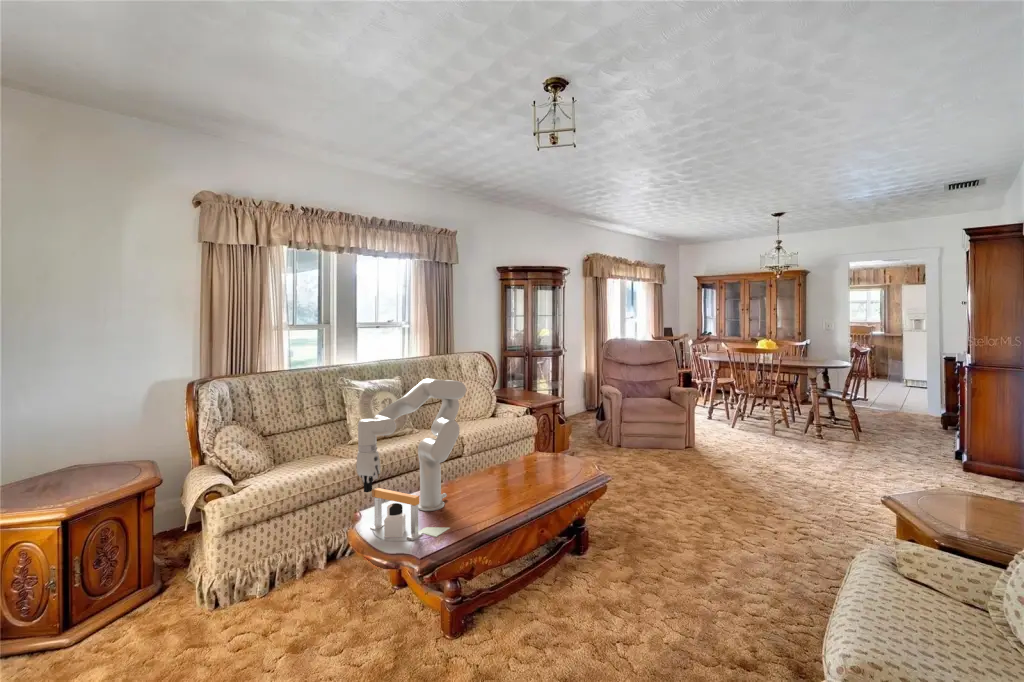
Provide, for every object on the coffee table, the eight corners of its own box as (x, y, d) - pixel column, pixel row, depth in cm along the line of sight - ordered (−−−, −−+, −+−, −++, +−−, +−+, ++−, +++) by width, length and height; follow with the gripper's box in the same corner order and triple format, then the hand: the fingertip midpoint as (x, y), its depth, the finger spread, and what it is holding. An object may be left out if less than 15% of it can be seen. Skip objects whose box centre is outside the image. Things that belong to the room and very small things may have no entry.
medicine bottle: (405, 530, 192) (405, 501, 192) (402, 537, 184) (401, 507, 184) (388, 531, 191) (387, 501, 191) (384, 538, 184) (383, 508, 184)
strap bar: (377, 494, 197) (377, 487, 197) (419, 503, 185) (419, 495, 185) (371, 496, 194) (371, 489, 194) (414, 505, 183) (414, 498, 183)
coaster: (432, 524, 197) (432, 523, 197) (450, 529, 192) (450, 527, 192) (417, 533, 189) (417, 531, 189) (436, 537, 184) (436, 536, 184)
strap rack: (380, 524, 198) (380, 494, 198) (422, 535, 186) (422, 502, 187) (370, 529, 193) (369, 498, 193) (412, 540, 181) (412, 507, 181)
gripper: (386, 448, 197) (387, 491, 197) (361, 444, 204) (362, 486, 204) (373, 452, 190) (374, 496, 190) (348, 448, 198) (348, 491, 198)
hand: (368, 491), depth 197 cm, fingers closed
